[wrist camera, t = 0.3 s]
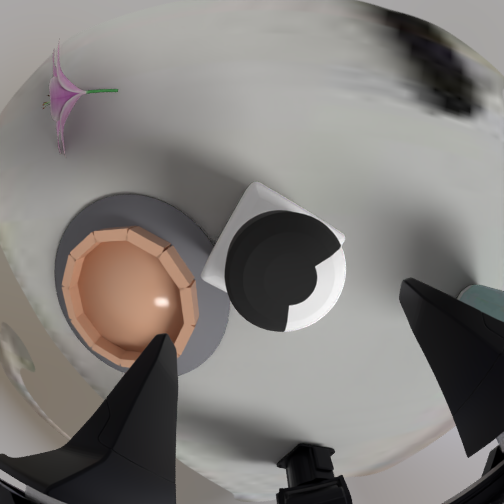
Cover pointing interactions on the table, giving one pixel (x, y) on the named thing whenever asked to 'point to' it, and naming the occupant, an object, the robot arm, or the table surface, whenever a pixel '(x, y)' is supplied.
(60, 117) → the lily
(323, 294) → the medicine bottle
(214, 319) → the rubber mat
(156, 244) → the terracotta bowl
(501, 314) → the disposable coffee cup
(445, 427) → the table surface
